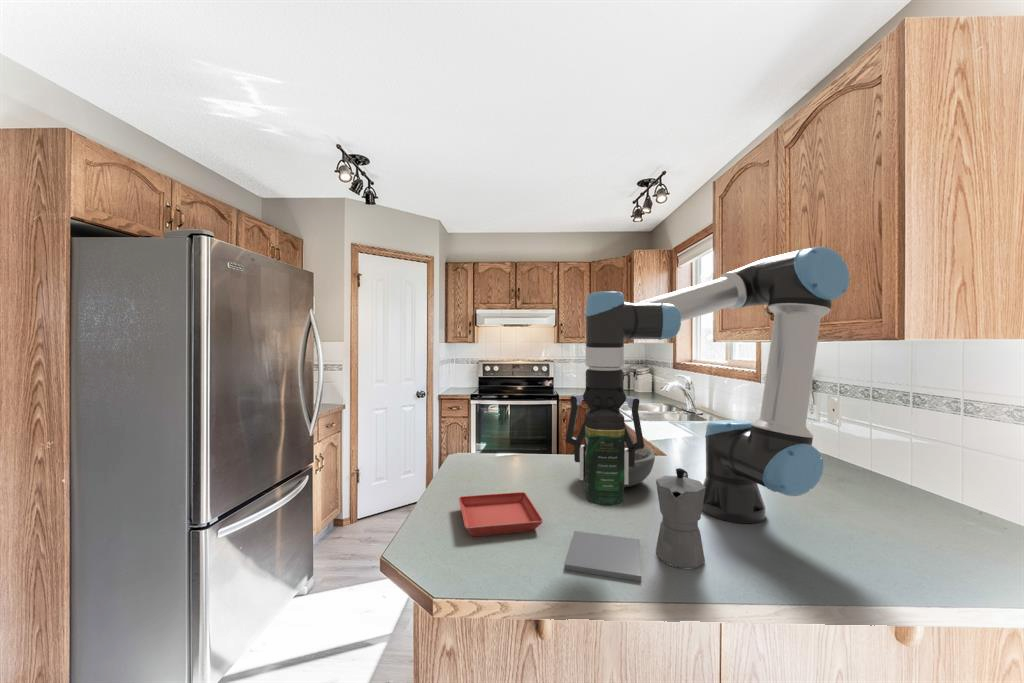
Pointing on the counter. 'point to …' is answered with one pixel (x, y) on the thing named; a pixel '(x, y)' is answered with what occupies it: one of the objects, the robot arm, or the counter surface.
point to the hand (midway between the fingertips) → (604, 479)
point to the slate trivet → (605, 555)
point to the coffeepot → (680, 520)
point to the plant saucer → (499, 513)
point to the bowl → (640, 466)
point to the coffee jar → (604, 457)
